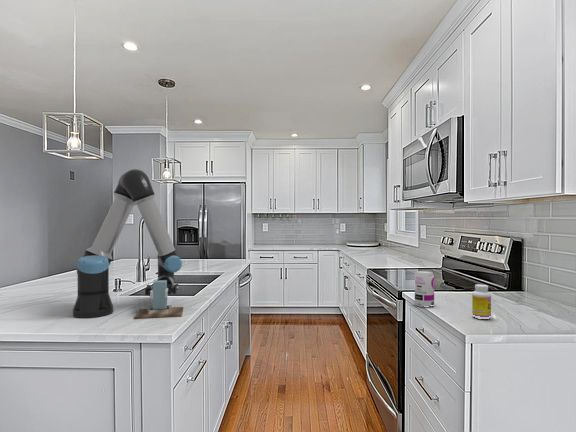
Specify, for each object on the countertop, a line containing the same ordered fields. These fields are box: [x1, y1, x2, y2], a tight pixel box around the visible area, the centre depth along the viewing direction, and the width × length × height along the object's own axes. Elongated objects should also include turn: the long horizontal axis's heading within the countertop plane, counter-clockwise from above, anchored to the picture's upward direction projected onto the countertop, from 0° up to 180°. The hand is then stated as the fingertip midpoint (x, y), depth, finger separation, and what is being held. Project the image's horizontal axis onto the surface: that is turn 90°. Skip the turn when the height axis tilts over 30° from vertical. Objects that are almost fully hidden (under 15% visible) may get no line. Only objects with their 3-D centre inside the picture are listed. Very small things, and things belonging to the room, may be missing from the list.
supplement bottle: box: [471, 283, 492, 317], centre depth 158 cm, size 7×7×13 cm
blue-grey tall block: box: [152, 280, 168, 310], centre depth 167 cm, size 5×5×11 cm
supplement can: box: [414, 270, 435, 308], centre depth 180 cm, size 8×8×15 cm
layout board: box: [133, 304, 184, 320], centre depth 167 cm, size 18×14×2 cm
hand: (158, 294), depth 162 cm, fingers closed on blue-grey tall block, 5 cm apart
